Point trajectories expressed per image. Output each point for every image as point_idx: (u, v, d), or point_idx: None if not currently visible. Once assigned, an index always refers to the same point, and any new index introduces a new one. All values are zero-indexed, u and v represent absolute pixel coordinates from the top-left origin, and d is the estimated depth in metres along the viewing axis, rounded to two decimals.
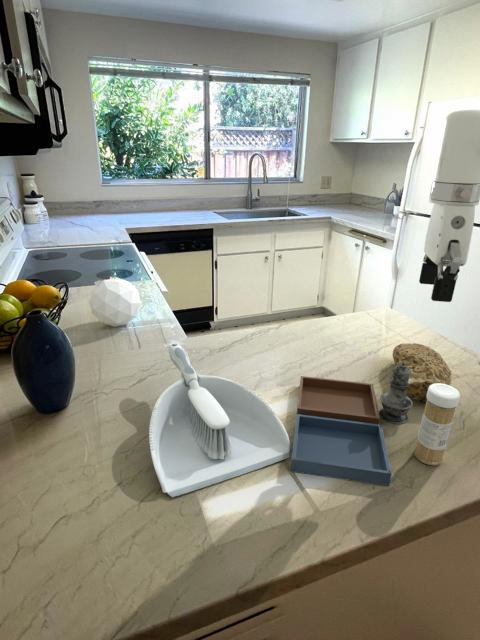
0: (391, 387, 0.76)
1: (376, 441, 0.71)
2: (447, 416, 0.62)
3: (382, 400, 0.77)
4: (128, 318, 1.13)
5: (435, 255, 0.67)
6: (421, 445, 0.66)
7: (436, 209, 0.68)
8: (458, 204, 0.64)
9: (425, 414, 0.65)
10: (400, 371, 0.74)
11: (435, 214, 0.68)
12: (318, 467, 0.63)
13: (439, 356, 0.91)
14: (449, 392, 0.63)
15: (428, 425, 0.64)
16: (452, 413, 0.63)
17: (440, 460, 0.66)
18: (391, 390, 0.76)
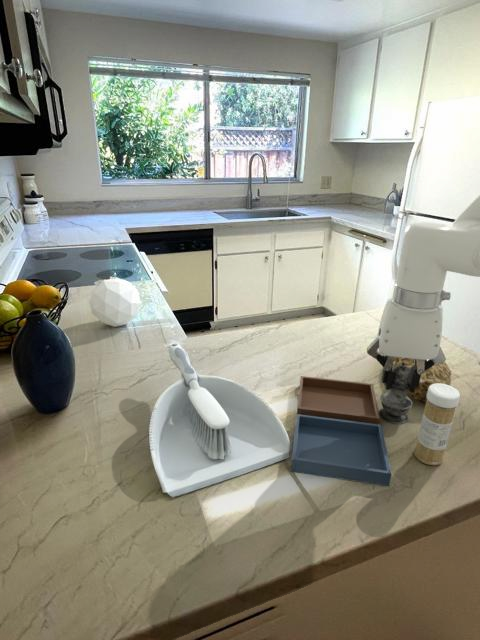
0: (391, 387, 0.76)
1: (376, 441, 0.71)
2: (447, 416, 0.62)
3: (382, 400, 0.77)
4: (128, 318, 1.13)
5: (431, 353, 0.70)
6: (421, 445, 0.66)
7: (420, 315, 0.68)
8: (438, 305, 0.69)
9: (425, 414, 0.65)
10: (399, 371, 0.74)
11: (419, 320, 0.68)
12: (318, 467, 0.63)
13: None
14: (449, 392, 0.63)
15: (428, 425, 0.64)
16: (452, 413, 0.63)
17: (440, 460, 0.66)
18: (391, 390, 0.76)
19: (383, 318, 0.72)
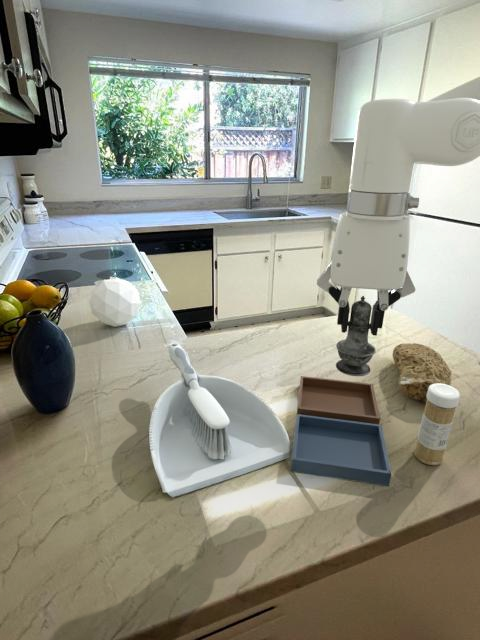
0: (349, 330, 0.60)
1: (376, 441, 0.71)
2: (447, 416, 0.62)
3: (338, 347, 0.62)
4: (128, 318, 1.13)
5: (395, 280, 0.55)
6: (421, 445, 0.66)
7: (380, 227, 0.52)
8: (404, 216, 0.53)
9: (425, 414, 0.65)
10: (358, 306, 0.58)
11: (379, 234, 0.52)
12: (318, 467, 0.63)
13: (439, 356, 0.91)
14: (449, 392, 0.63)
15: (428, 425, 0.64)
16: (452, 413, 0.63)
17: (440, 460, 0.66)
18: (349, 333, 0.61)
19: (335, 237, 0.56)
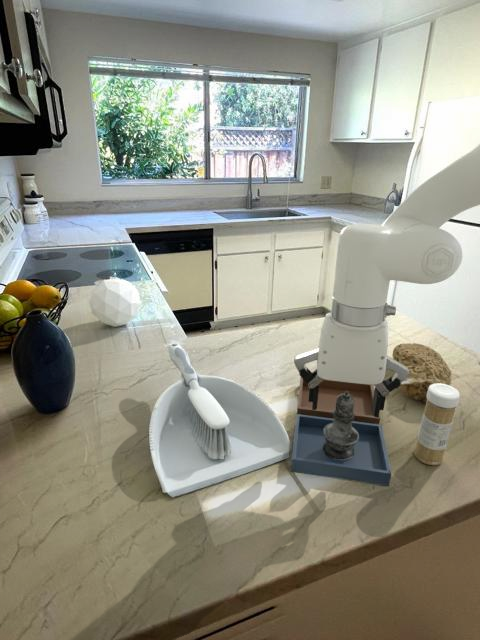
0: (334, 419, 0.66)
1: (376, 441, 0.71)
2: (447, 416, 0.62)
3: (325, 433, 0.67)
4: (128, 318, 1.13)
5: (375, 377, 0.60)
6: (421, 445, 0.66)
7: (360, 334, 0.57)
8: (382, 321, 0.58)
9: (425, 414, 0.65)
10: (342, 401, 0.64)
11: (360, 339, 0.58)
12: (318, 467, 0.63)
13: (439, 356, 0.91)
14: (449, 392, 0.63)
15: (428, 424, 0.64)
16: (452, 413, 0.63)
17: (440, 460, 0.66)
18: (334, 422, 0.66)
19: (321, 336, 0.61)
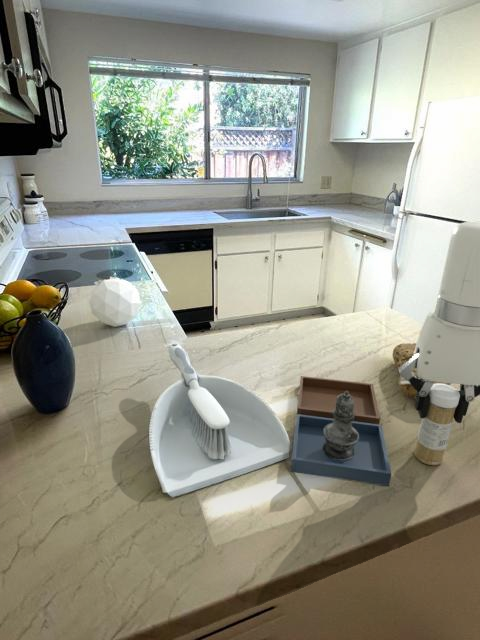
0: (334, 419, 0.66)
1: (376, 441, 0.71)
2: (447, 416, 0.62)
3: (325, 433, 0.67)
4: (128, 318, 1.13)
5: None
6: (421, 445, 0.66)
7: (470, 334, 0.56)
8: None
9: None
10: (342, 401, 0.64)
11: (468, 339, 0.57)
12: (318, 467, 0.63)
13: None
14: (449, 392, 0.63)
15: (428, 425, 0.64)
16: (452, 413, 0.63)
17: (440, 460, 0.66)
18: (334, 422, 0.66)
19: (423, 336, 0.60)
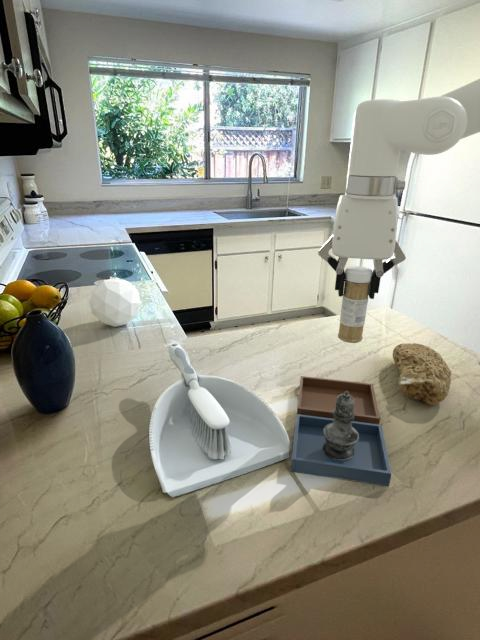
0: (334, 419, 0.66)
1: (376, 441, 0.71)
2: (360, 291, 0.69)
3: (325, 433, 0.67)
4: (128, 318, 1.13)
5: (386, 251, 0.66)
6: (341, 325, 0.73)
7: (373, 206, 0.63)
8: (393, 196, 0.64)
9: (344, 294, 0.71)
10: (342, 401, 0.64)
11: (372, 211, 0.63)
12: (318, 467, 0.63)
13: (439, 356, 0.91)
14: (362, 270, 0.69)
15: (345, 302, 0.71)
16: (365, 289, 0.69)
17: (359, 338, 0.73)
18: (334, 422, 0.66)
19: (336, 215, 0.67)
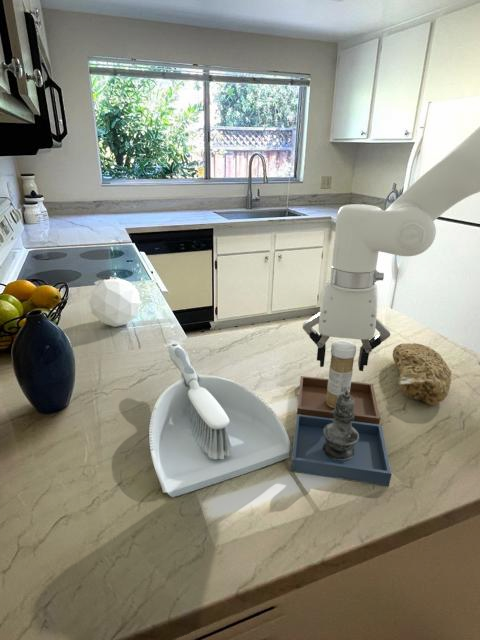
0: (334, 419, 0.66)
1: (376, 441, 0.71)
2: (345, 366, 0.76)
3: (325, 433, 0.67)
4: (128, 318, 1.13)
5: (367, 333, 0.72)
6: (329, 392, 0.80)
7: (354, 295, 0.70)
8: (373, 285, 0.71)
9: (330, 365, 0.78)
10: (342, 401, 0.64)
11: (354, 300, 0.70)
12: (318, 467, 0.63)
13: (439, 356, 0.91)
14: (347, 346, 0.76)
15: (332, 374, 0.78)
16: (350, 363, 0.76)
17: None
18: (334, 422, 0.66)
19: (322, 299, 0.73)
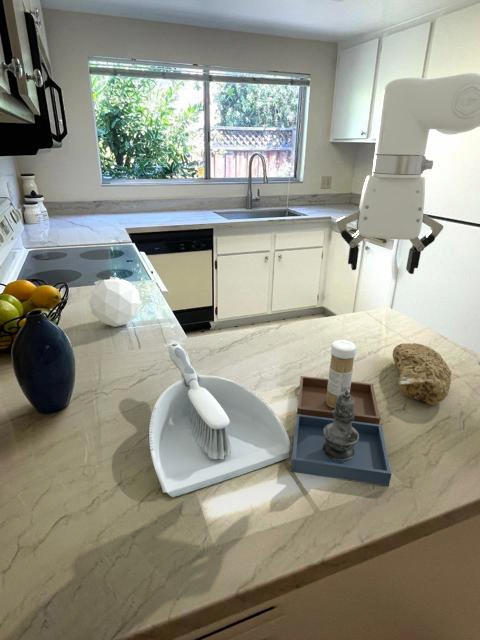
0: (334, 419, 0.66)
1: (376, 441, 0.71)
2: (345, 366, 0.76)
3: (325, 433, 0.67)
4: (128, 318, 1.13)
5: (413, 230, 0.66)
6: (329, 392, 0.80)
7: (401, 185, 0.64)
8: (420, 176, 0.65)
9: (330, 366, 0.78)
10: (342, 401, 0.64)
11: (400, 190, 0.64)
12: (318, 467, 0.63)
13: (439, 356, 0.91)
14: (347, 346, 0.76)
15: (332, 374, 0.78)
16: (350, 363, 0.76)
17: None
18: (334, 422, 0.66)
19: (362, 195, 0.67)
